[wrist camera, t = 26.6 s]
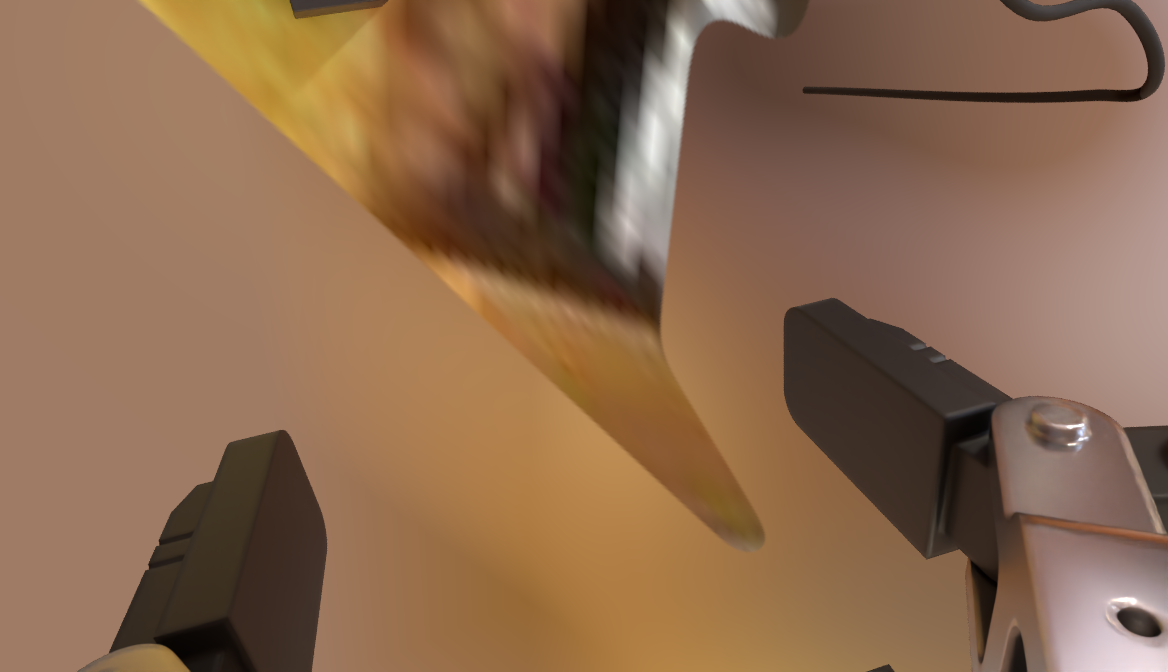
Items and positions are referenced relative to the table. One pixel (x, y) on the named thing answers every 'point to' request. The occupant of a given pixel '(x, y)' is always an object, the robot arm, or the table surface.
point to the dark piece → (330, 6)
